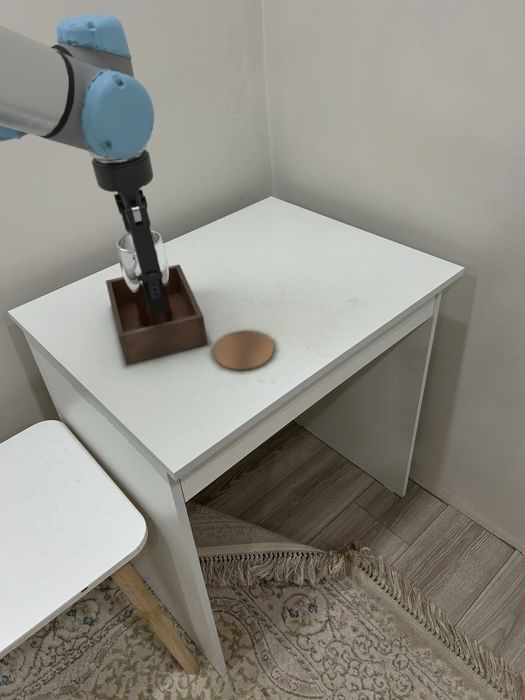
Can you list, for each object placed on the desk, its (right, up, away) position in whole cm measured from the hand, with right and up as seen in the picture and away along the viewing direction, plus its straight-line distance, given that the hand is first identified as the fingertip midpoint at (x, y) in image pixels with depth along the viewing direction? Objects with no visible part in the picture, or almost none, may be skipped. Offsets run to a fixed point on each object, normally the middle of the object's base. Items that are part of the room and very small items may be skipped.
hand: (151, 289), depth 85 cm
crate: (0, -5, +4) cm, 7 cm away
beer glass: (0, -5, +4) cm, 7 cm away
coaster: (+14, -10, -2) cm, 18 cm away
